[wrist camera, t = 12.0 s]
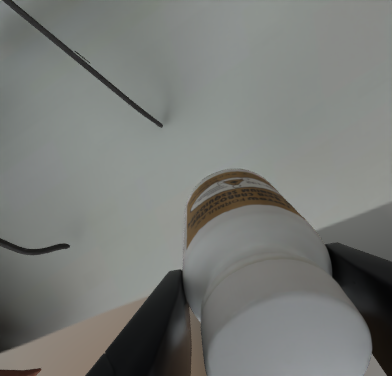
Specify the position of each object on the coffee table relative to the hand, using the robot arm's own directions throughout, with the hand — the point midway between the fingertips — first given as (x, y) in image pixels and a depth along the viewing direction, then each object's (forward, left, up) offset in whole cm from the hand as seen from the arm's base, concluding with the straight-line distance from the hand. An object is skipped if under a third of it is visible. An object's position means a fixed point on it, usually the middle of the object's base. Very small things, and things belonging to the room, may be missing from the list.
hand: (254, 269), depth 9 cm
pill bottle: (0, 0, -5) cm, 5 cm away
